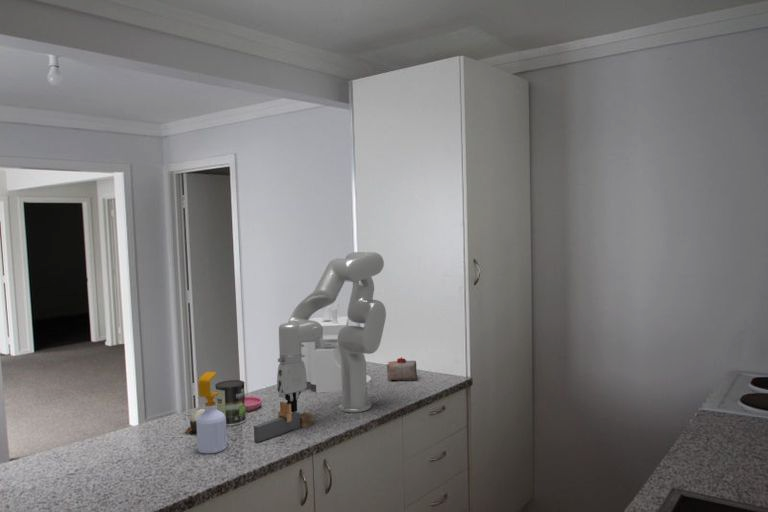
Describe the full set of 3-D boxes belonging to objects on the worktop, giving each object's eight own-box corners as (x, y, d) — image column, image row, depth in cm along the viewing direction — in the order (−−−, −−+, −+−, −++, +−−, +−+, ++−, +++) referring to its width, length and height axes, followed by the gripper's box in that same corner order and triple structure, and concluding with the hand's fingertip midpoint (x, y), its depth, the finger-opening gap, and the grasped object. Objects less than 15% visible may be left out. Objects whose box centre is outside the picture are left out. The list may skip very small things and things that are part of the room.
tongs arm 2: (298, 426, 212) (297, 412, 211) (300, 427, 211) (299, 413, 211) (256, 441, 198) (255, 426, 198) (258, 442, 197) (257, 427, 197)
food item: (386, 382, 268) (386, 360, 268) (387, 377, 276) (386, 356, 276) (417, 381, 268) (416, 359, 267) (417, 377, 276) (416, 355, 275)
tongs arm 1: (295, 425, 212) (295, 411, 212) (297, 426, 212) (297, 412, 212) (254, 440, 199) (253, 425, 198) (256, 441, 198) (255, 426, 198)
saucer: (267, 409, 235) (267, 401, 234) (236, 415, 228) (236, 407, 227) (254, 402, 245) (254, 394, 245) (224, 408, 238) (224, 400, 238)
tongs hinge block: (305, 421, 217) (305, 412, 217) (313, 424, 214) (313, 414, 214) (294, 425, 213) (294, 415, 213) (303, 428, 211) (302, 418, 210)
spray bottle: (232, 445, 196) (229, 370, 195) (216, 455, 188) (212, 377, 186) (209, 442, 199) (205, 369, 198) (191, 452, 191) (188, 375, 189)
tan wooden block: (282, 418, 209) (282, 401, 209) (291, 420, 206) (291, 403, 206) (278, 419, 208) (277, 402, 208) (287, 422, 205) (286, 405, 205)
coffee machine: (305, 379, 278) (301, 304, 277) (370, 376, 279) (367, 301, 277) (299, 394, 254) (295, 312, 253) (371, 390, 255) (367, 308, 253)
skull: (195, 420, 219) (211, 400, 217) (214, 441, 218) (231, 421, 216) (175, 430, 208) (192, 410, 206) (195, 452, 206) (213, 431, 204)
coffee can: (250, 417, 224) (249, 380, 224) (238, 426, 214) (236, 387, 214) (225, 416, 226) (223, 379, 226) (211, 425, 216) (210, 386, 216)
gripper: (280, 364, 201) (282, 418, 202) (314, 356, 212) (315, 408, 213) (266, 361, 206) (268, 414, 206) (299, 353, 217) (301, 404, 218)
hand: (292, 411), depth 210 cm, fingers closed
